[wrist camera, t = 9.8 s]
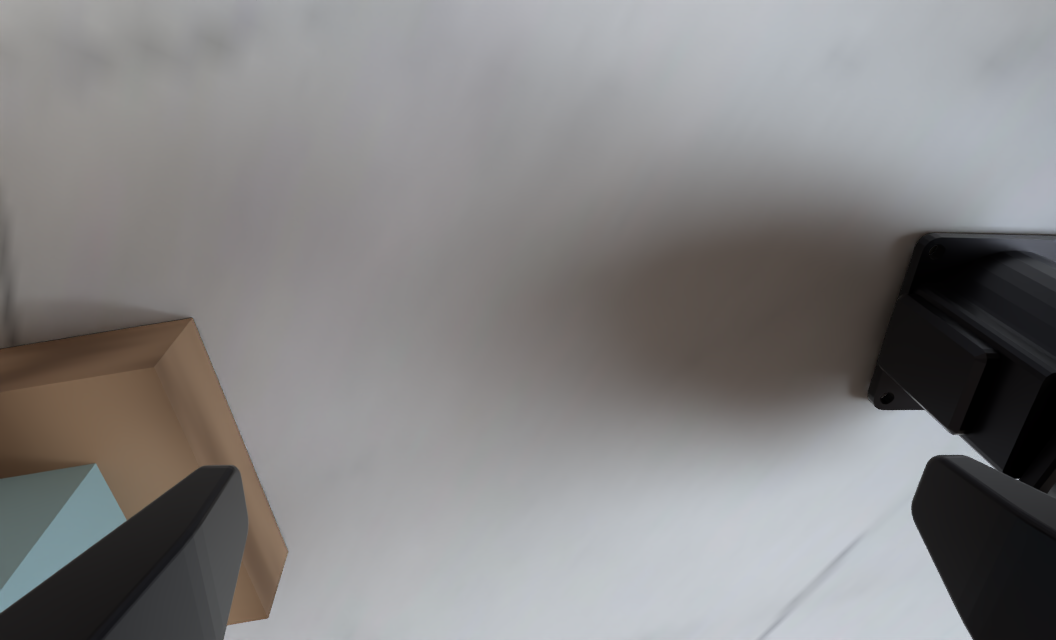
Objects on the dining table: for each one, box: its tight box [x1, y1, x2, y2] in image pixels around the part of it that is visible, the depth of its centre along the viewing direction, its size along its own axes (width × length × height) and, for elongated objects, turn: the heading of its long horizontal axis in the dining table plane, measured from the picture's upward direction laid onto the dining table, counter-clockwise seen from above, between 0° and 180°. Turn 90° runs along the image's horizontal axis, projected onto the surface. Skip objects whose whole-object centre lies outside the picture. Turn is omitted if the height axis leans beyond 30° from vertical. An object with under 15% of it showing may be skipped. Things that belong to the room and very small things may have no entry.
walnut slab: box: [0, 318, 288, 625], centre depth 22 cm, size 10×10×3 cm
